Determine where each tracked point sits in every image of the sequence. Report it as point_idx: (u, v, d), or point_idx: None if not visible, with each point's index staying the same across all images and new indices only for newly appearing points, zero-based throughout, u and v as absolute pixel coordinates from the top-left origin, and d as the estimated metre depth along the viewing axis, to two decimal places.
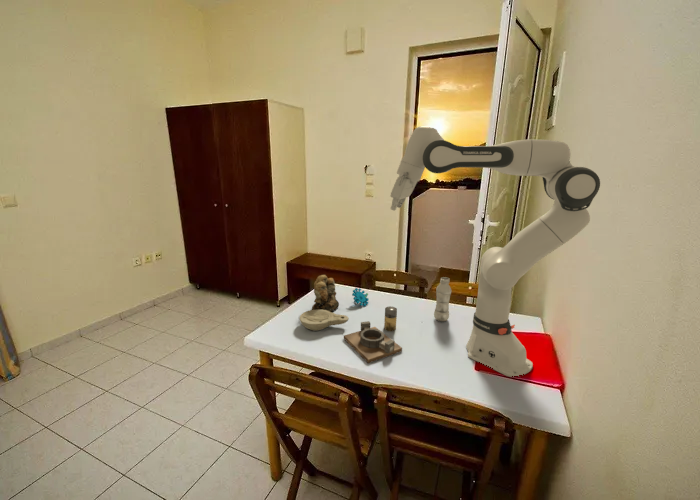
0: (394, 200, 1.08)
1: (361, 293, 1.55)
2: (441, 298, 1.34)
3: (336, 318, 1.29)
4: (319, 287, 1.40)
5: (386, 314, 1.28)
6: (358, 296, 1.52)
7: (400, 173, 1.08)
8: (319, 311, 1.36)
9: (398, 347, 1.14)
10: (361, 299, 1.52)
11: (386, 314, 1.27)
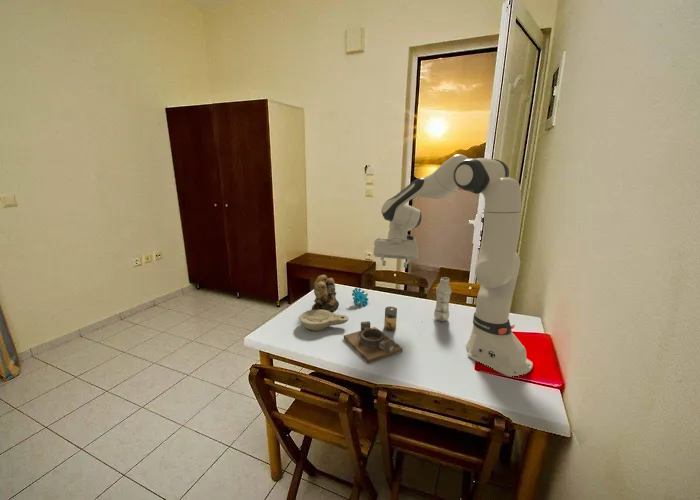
0: None
1: (361, 293, 1.55)
2: (441, 298, 1.34)
3: (336, 318, 1.29)
4: (319, 287, 1.40)
5: (386, 314, 1.28)
6: (358, 296, 1.52)
7: None
8: (319, 311, 1.36)
9: (398, 347, 1.14)
10: (361, 299, 1.52)
11: (387, 314, 1.27)
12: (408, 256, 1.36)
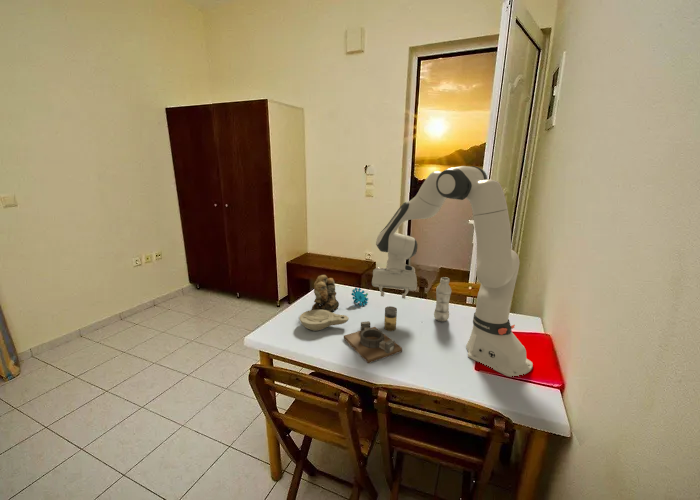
0: (379, 288, 1.39)
1: (361, 293, 1.55)
2: (441, 298, 1.34)
3: (336, 318, 1.29)
4: (319, 287, 1.40)
5: (386, 314, 1.28)
6: (357, 296, 1.52)
7: None
8: (319, 311, 1.36)
9: (398, 347, 1.14)
10: (360, 299, 1.52)
11: (386, 314, 1.28)
12: (406, 287, 1.35)
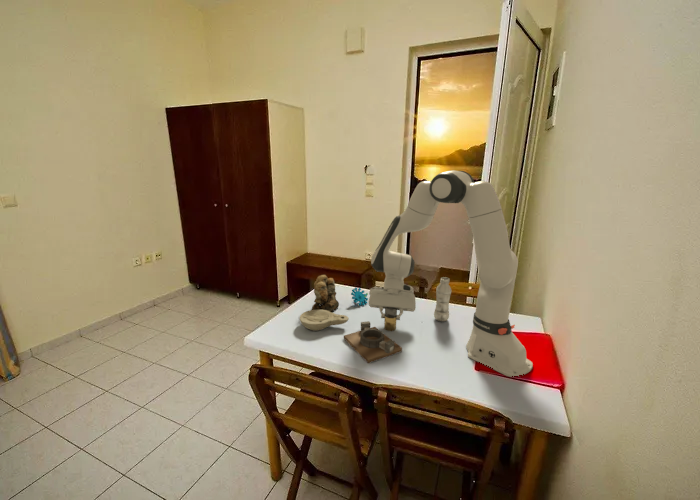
0: None
1: (360, 293, 1.55)
2: (441, 298, 1.34)
3: (336, 318, 1.29)
4: (319, 287, 1.40)
5: (386, 314, 1.28)
6: (357, 295, 1.52)
7: None
8: (319, 311, 1.36)
9: (398, 347, 1.14)
10: (360, 299, 1.52)
11: (386, 314, 1.27)
12: (405, 308, 1.29)
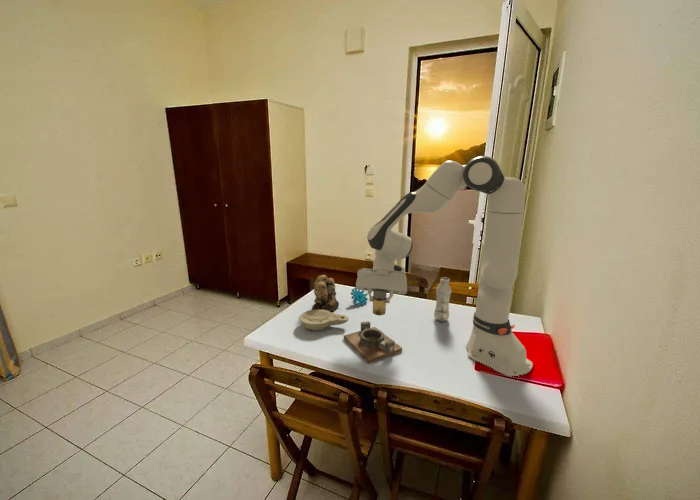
0: None
1: (360, 292, 1.55)
2: (441, 298, 1.34)
3: (336, 318, 1.29)
4: (319, 287, 1.40)
5: (374, 296, 1.17)
6: (356, 295, 1.53)
7: None
8: (319, 311, 1.36)
9: (398, 347, 1.14)
10: (359, 298, 1.53)
11: (375, 296, 1.16)
12: (395, 290, 1.18)
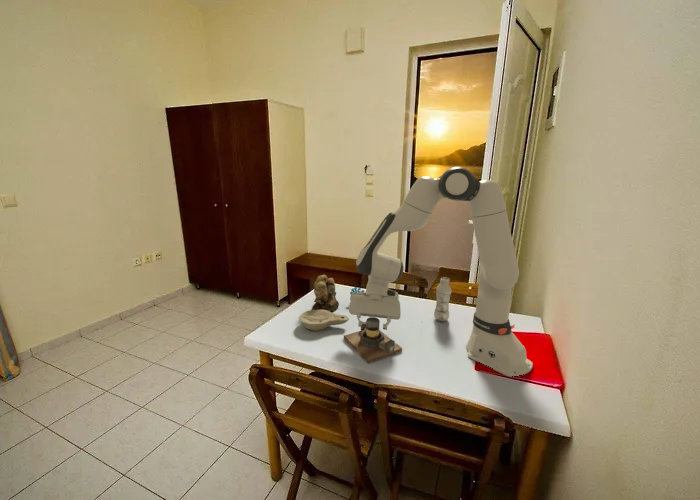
0: (357, 316, 1.19)
1: None
2: (441, 298, 1.34)
3: (336, 318, 1.29)
4: (319, 287, 1.40)
5: (367, 326, 1.15)
6: None
7: None
8: (319, 311, 1.36)
9: (398, 347, 1.14)
10: None
11: (368, 326, 1.14)
12: (388, 316, 1.16)
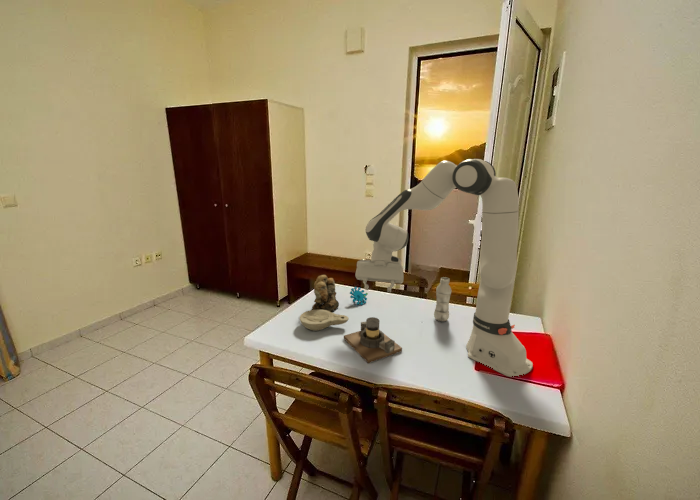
0: (363, 281, 1.29)
1: (360, 292, 1.56)
2: (441, 298, 1.34)
3: (336, 318, 1.29)
4: (319, 287, 1.40)
5: (367, 326, 1.15)
6: (356, 295, 1.53)
7: None
8: (319, 311, 1.36)
9: (398, 347, 1.14)
10: (358, 298, 1.53)
11: (368, 326, 1.15)
12: (392, 279, 1.25)
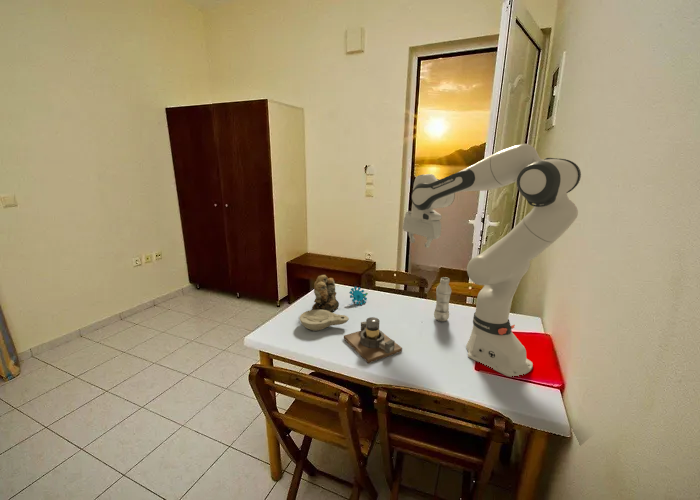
0: None
1: (360, 292, 1.56)
2: (441, 298, 1.34)
3: (336, 318, 1.29)
4: (319, 287, 1.40)
5: (367, 326, 1.15)
6: (355, 294, 1.54)
7: None
8: (319, 311, 1.36)
9: (398, 347, 1.14)
10: (358, 298, 1.53)
11: (368, 326, 1.15)
12: (427, 237, 1.27)
